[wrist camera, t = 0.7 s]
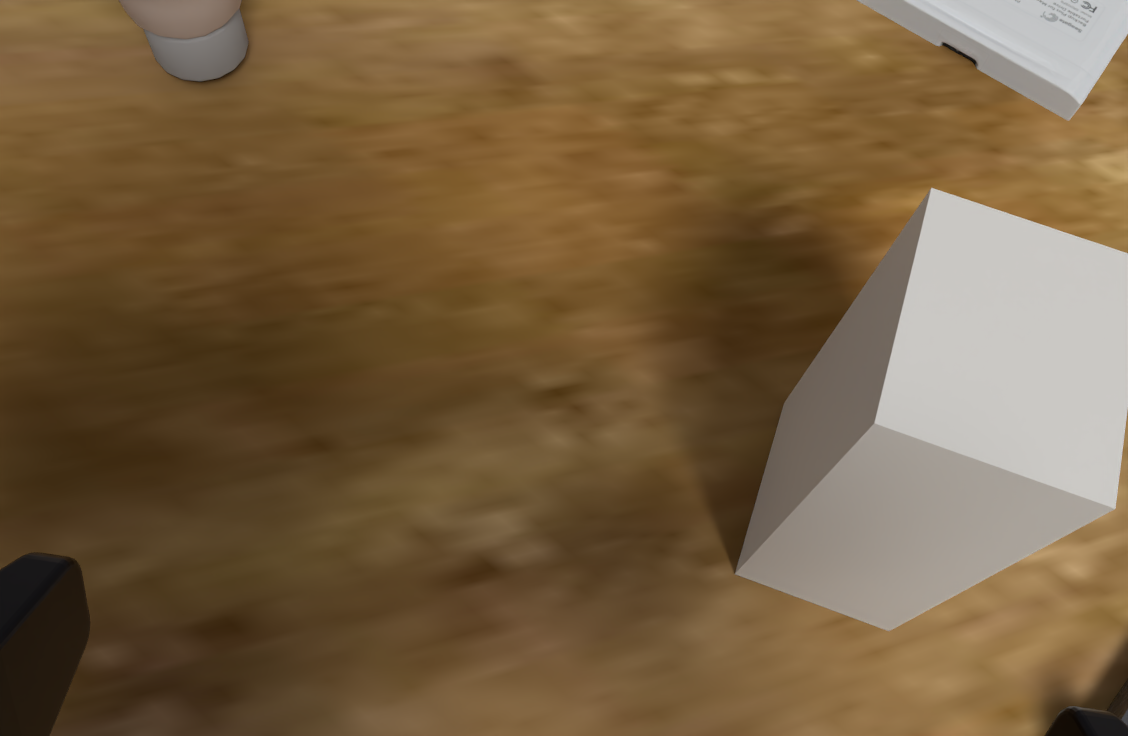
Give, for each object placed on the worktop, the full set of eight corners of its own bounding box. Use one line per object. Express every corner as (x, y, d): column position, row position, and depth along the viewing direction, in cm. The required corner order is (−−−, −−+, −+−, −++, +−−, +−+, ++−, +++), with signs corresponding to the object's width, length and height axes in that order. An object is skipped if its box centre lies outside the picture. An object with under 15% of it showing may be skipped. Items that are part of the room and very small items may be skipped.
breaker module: (888, 631, 26) (1115, 508, 17) (734, 574, 26) (873, 423, 17) (931, 434, 28) (1149, 233, 19) (789, 384, 28) (937, 162, 19)
